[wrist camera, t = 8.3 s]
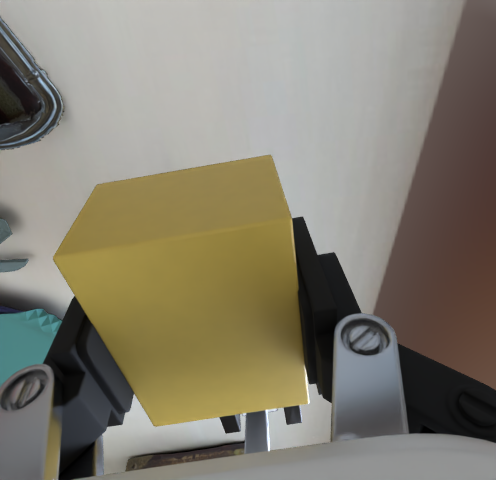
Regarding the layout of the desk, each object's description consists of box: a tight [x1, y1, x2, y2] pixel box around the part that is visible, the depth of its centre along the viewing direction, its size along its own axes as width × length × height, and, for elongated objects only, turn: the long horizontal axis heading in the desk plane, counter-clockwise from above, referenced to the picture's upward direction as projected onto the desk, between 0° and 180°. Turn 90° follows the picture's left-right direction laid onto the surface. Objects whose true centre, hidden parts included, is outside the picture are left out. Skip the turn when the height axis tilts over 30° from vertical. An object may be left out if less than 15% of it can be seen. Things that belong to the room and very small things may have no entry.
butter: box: [53, 155, 309, 427], centre depth 11 cm, size 5×7×3 cm
